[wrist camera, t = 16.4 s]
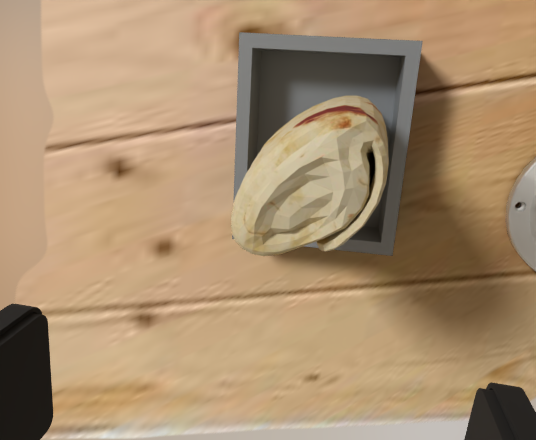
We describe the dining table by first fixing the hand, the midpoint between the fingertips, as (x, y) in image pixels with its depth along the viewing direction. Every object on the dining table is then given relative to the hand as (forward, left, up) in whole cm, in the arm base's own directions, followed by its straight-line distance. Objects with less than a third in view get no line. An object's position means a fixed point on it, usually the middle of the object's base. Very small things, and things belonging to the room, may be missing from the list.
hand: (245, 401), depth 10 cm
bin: (0, -1, -34) cm, 34 cm away
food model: (0, -1, -33) cm, 33 cm away
